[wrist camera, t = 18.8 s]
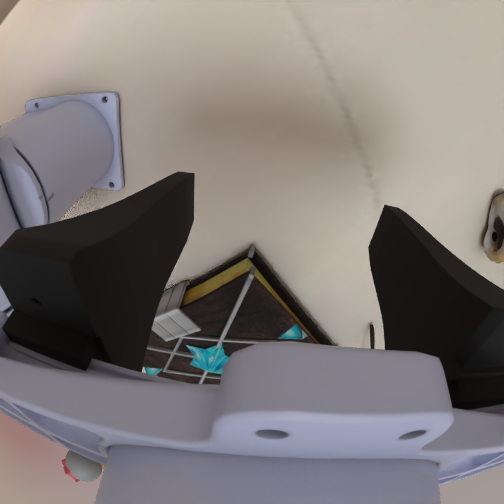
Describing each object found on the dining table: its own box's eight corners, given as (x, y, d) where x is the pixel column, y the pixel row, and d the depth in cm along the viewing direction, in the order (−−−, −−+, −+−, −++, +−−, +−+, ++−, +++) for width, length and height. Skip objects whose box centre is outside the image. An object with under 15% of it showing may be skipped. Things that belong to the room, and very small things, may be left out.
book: (196, 383, 42) (190, 413, 38) (106, 313, 34) (90, 346, 30) (340, 346, 33) (343, 385, 29) (258, 239, 25) (251, 283, 21)
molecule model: (93, 462, 33) (61, 476, 30) (152, 507, 42) (127, 519, 39) (65, 369, 52) (42, 381, 49) (111, 428, 61) (91, 438, 58)
